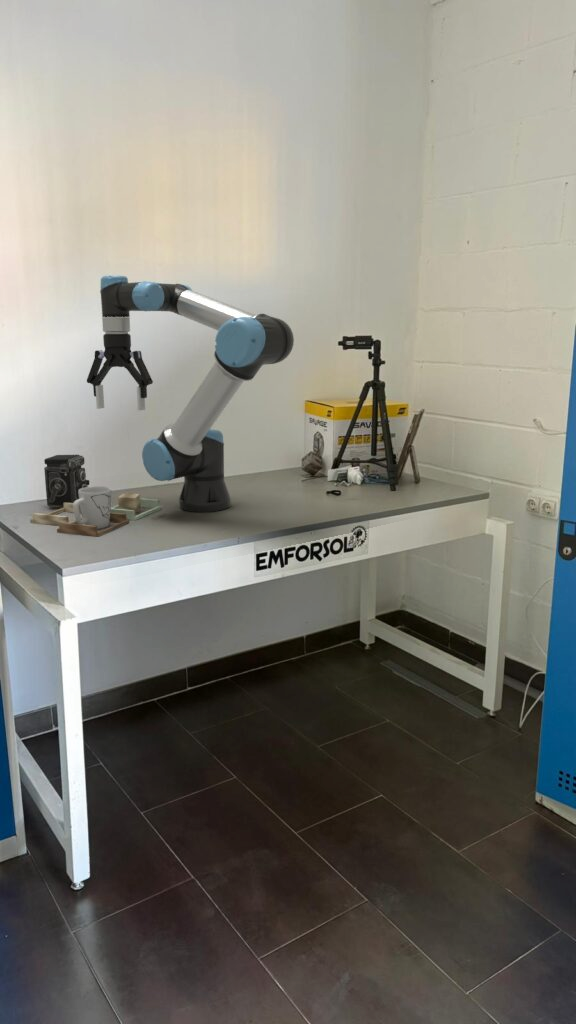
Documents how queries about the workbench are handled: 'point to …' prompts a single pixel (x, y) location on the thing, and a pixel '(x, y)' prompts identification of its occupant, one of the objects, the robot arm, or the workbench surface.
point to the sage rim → (144, 503)
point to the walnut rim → (92, 530)
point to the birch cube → (130, 502)
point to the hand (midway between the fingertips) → (120, 409)
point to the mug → (93, 506)
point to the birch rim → (54, 516)
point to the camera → (64, 479)
